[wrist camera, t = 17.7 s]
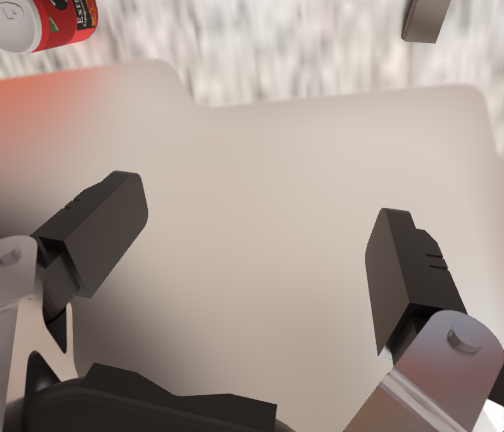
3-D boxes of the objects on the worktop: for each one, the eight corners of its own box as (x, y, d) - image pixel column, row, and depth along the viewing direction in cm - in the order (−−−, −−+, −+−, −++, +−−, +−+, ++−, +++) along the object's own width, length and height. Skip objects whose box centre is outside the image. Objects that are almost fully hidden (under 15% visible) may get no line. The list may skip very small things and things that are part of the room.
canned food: (111, 25, 40) (52, 36, 31) (70, 50, 43) (5, 67, 34) (72, -45, 36) (-9, -55, 27) (29, -13, 39) (-55, -12, 30)
